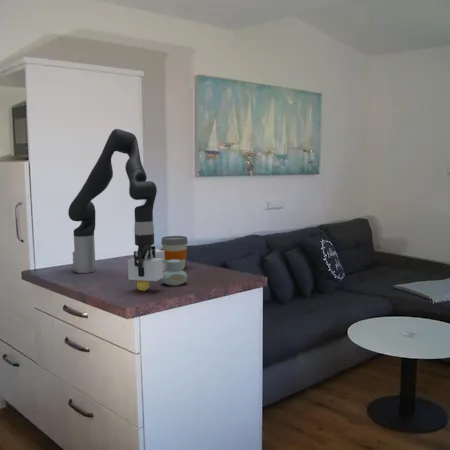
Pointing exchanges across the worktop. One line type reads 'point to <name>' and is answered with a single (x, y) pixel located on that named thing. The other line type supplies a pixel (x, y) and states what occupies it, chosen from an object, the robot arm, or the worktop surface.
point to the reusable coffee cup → (175, 249)
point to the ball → (142, 285)
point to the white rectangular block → (146, 269)
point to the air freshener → (174, 273)
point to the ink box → (160, 255)
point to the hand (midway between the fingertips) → (145, 274)
